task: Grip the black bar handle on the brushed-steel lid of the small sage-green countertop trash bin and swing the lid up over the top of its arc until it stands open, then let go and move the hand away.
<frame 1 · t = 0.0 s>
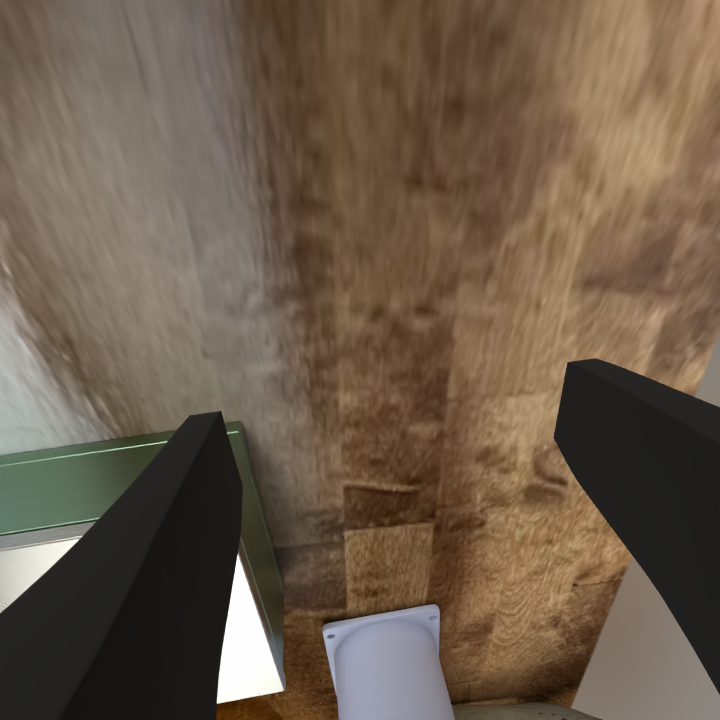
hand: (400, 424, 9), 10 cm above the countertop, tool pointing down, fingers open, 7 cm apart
trash bin: (146, 531, 24), on the countertop
bin lid: (99, 687, 18), point 7 cm above the countertop, hinge at 0.0°
jawbone: (478, 699, 42), on the countertop
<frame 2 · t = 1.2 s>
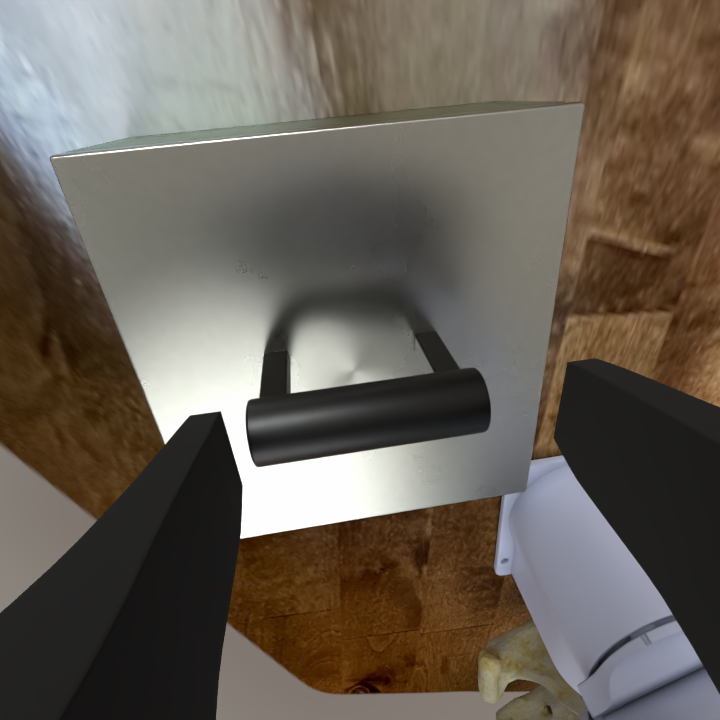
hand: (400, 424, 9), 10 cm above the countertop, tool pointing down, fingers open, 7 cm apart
trash bin: (336, 292, 18), on the countertop
bin lid: (361, 402, 12), point 7 cm above the countertop, hinge at 0.0°
jawbone: (627, 602, 36), on the countertop
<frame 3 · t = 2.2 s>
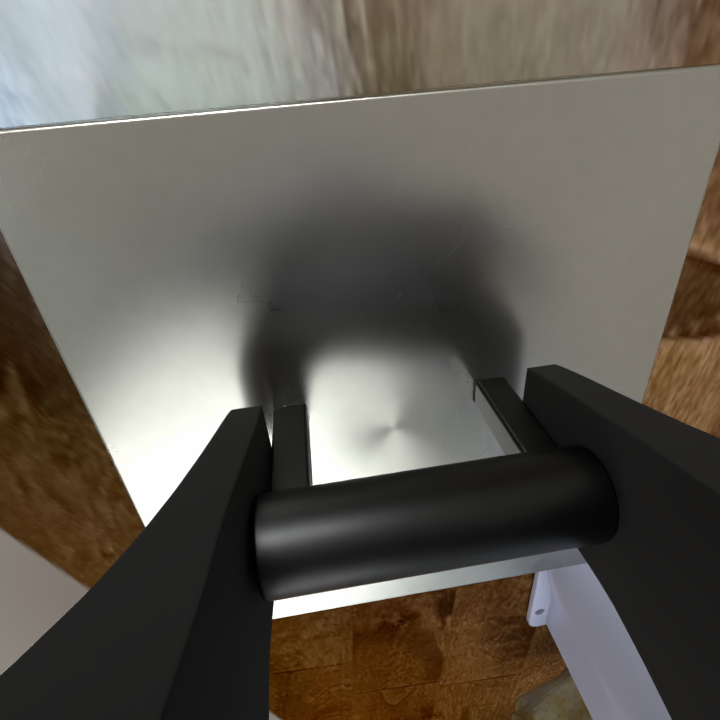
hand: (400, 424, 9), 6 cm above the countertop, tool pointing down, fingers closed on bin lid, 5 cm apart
trash bin: (359, 314, 15), on the countertop
bin lid: (409, 480, 9), point 7 cm above the countertop, hinge at 0.0°, touching gripper
jawbone: (665, 645, 33), on the countertop
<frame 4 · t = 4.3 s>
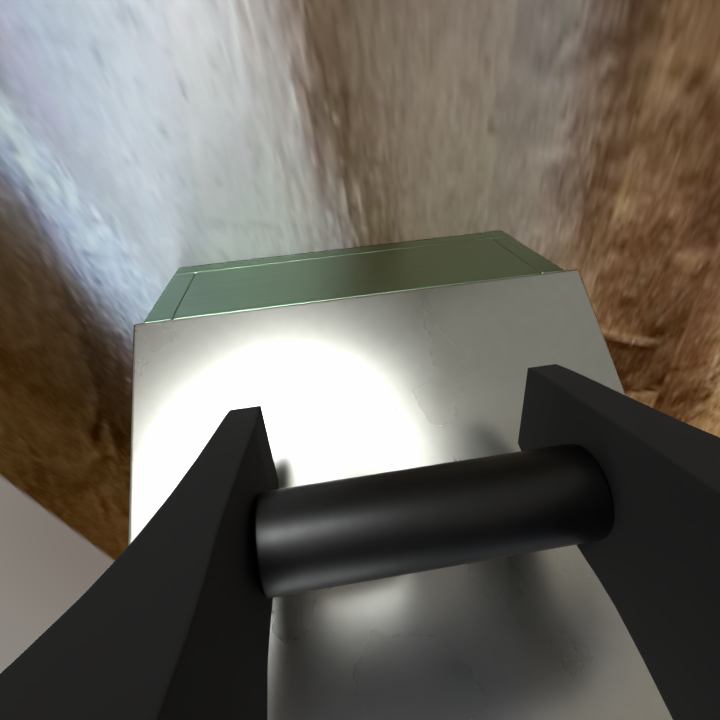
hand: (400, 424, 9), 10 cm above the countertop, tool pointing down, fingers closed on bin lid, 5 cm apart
trash bin: (357, 383, 21), on the countertop
bin lid: (422, 556, 9), point 12 cm above the countertop, hinge at 51.5°, touching gripper
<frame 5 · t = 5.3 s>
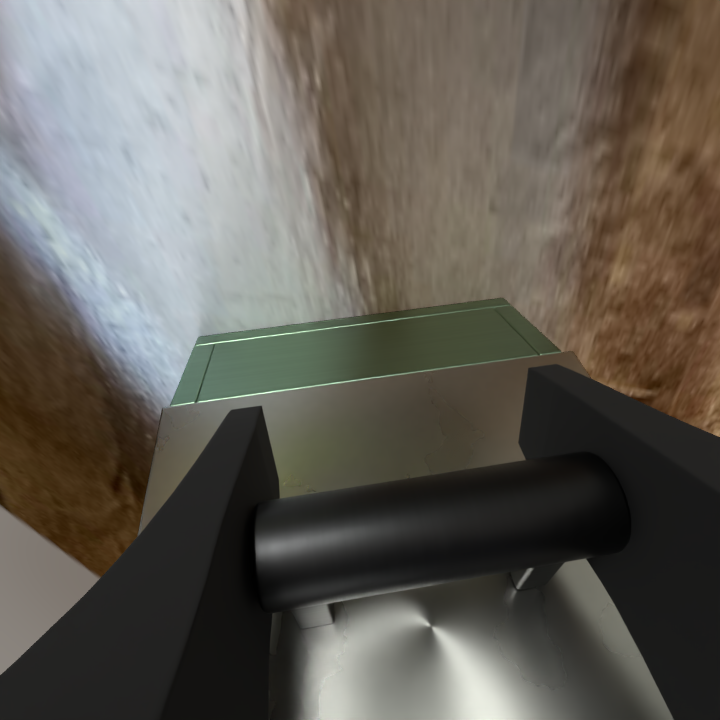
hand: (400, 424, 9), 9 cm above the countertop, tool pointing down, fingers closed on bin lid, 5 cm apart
trash bin: (365, 436, 21), on the countertop
bin lid: (438, 602, 8), point 12 cm above the countertop, hinge at 73.1°, touching gripper
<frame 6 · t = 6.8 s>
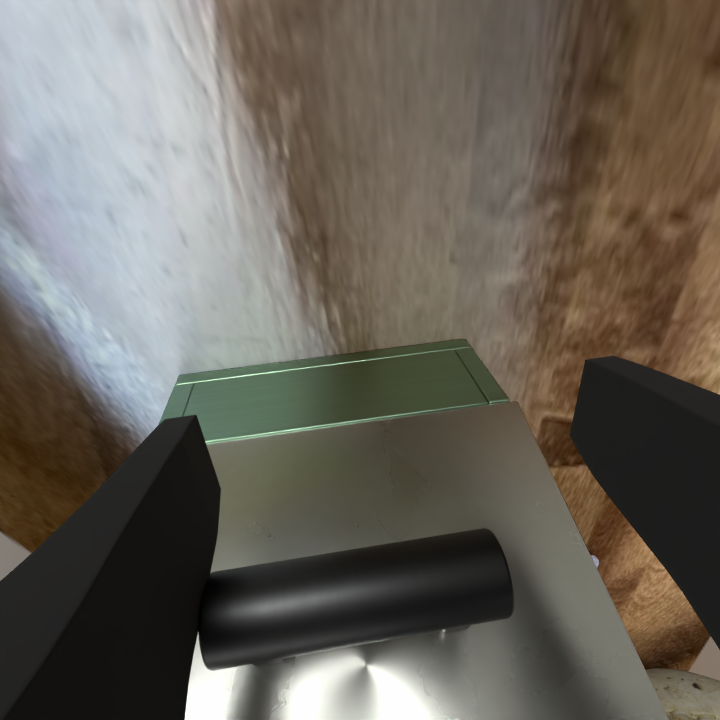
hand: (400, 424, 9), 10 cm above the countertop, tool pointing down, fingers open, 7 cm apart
trash bin: (339, 462, 23), on the countertop
bin lid: (365, 652, 9), point 12 cm above the countertop, hinge at 72.3°, touching gripper
jawbone: (593, 667, 41), on the countertop
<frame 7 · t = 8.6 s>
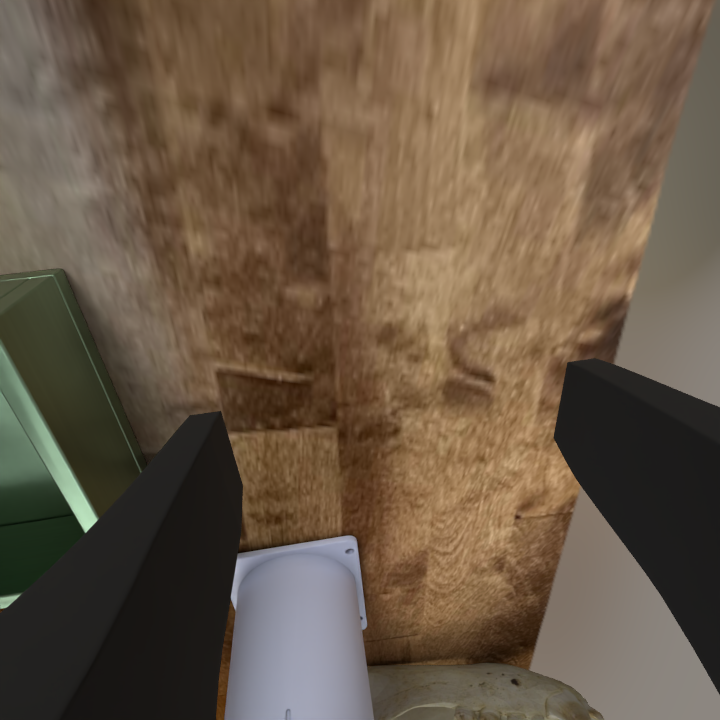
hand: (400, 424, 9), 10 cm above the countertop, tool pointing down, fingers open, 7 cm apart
jawbone: (424, 662, 37), on the countertop
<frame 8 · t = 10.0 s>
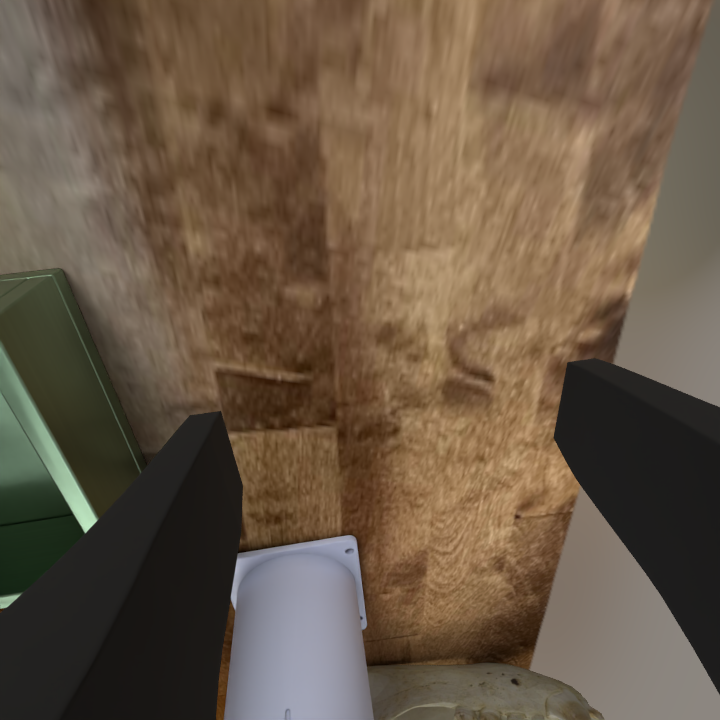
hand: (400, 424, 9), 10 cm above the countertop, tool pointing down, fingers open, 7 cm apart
jawbone: (424, 661, 37), on the countertop
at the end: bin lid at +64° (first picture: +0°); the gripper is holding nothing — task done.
